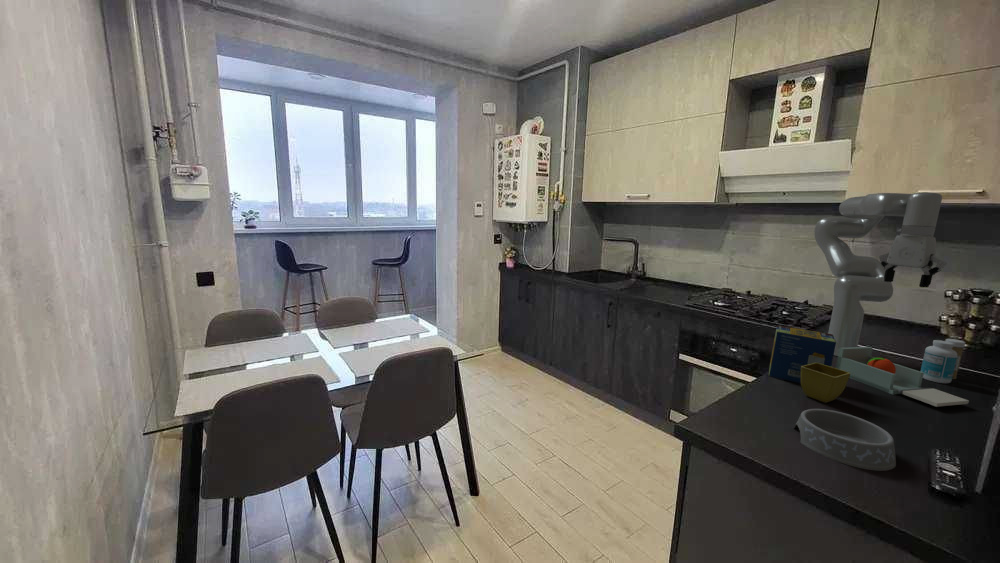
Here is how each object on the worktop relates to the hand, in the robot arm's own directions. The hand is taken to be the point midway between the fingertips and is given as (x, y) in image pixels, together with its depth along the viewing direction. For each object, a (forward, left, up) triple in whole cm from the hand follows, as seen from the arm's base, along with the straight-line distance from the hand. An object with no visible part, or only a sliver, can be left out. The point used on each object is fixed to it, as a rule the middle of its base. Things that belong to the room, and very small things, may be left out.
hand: (905, 284), depth 132 cm
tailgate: (+7, -14, -31) cm, 34 cm away
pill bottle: (+12, +12, -32) cm, 37 cm away
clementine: (-2, -9, -31) cm, 32 cm away
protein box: (-20, -28, -33) cm, 47 cm away
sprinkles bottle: (+15, +20, -32) cm, 41 cm away
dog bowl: (-4, -70, -33) cm, 78 cm away
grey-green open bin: (-1, -9, -32) cm, 34 cm away
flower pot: (-12, -42, -32) cm, 54 cm away
